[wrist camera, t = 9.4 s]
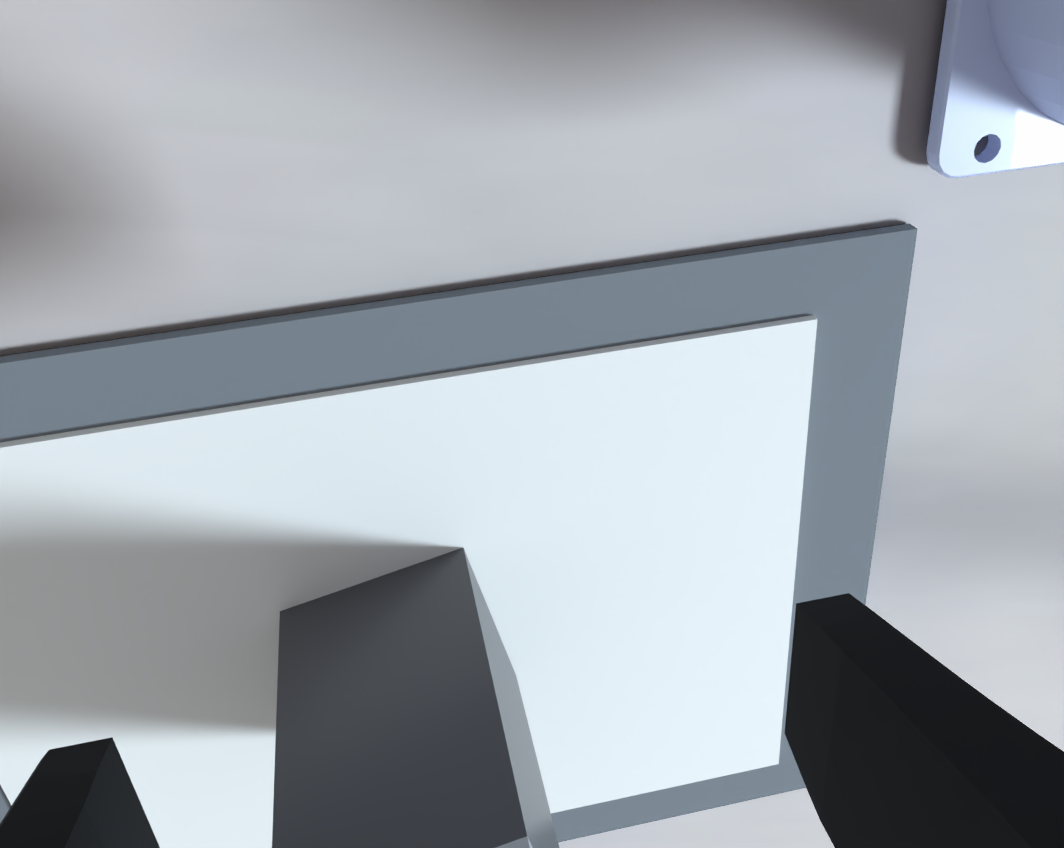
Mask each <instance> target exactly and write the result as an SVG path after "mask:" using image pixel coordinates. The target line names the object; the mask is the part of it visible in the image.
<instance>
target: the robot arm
mask: <svg viewBox="0 0 1064 848" xmlns="http://www.w3.org/2000/svg"><path fill="white" fill-rule="evenodd" d="M986 135H988V143H987V146H986V148H985V149H984V150H983V151H982V152H981V153H980V154H979V155H977V156H974V149H975V146H976V144H977V142H978V141H979V140H980V139H981V138H982V137H983V136H986ZM927 161H928V163H929V165H930V167H931V168H932V169H933V170H935V171H936V172H938V173H940V174H942V175H944V176H945V177H947V178H961V177H968V176H975V175H983V174H990V173H997V172H1004V171H1011V170H1018V169H1025V168H1032V167H1039V166H1047V165H1054V164H1061V163H1064V0H947V6H946V13H945V20H944V28H943V35H942V42H941V49H940V57H939V64H938V71H937V78H936V86H935V93H934V100H933V107H932V115H931V122H930V129H929V137H928V144H927ZM785 736H786V738H787V741H788V743H789V746H790V748H791V751H792V753H793V756H794V758H795V761H796V763H797V766H798V768H799V771H800V773H801V776H802V778H803V781H804V783H805V785H806V788H807V790H808V793H809V795H810V797H811V800H812V802H813V804H814V807H815V809H816V811H817V814H818V816H819V818H820V821H821V822H822V824H823V826H824V828H825V830H826V832H827V834H828V835H829V837H830V839H831V841H832V843H833V845H834V847H835V848H1064V752H1063V751H1062V750H1060V749H1059V748H1057V747H1056V746H1055V745H1053V744H1052V743H1050V742H1049V741H1047V740H1046V739H1044V738H1043V737H1041V736H1040V735H1038V734H1037V733H1036V732H1034V731H1033V730H1031V729H1030V728H1029V727H1027V726H1026V725H1024V724H1023V723H1022V722H1020V721H1019V720H1017V719H1016V718H1015V717H1013V716H1012V715H1011V714H1009V713H1008V712H1006V711H1005V710H1004V709H1002V708H1001V707H999V706H998V705H997V704H995V703H994V702H992V701H991V700H990V699H988V698H987V697H985V696H984V695H983V694H981V693H980V692H979V691H977V690H976V689H975V688H973V687H972V686H971V685H969V684H968V683H967V682H965V681H964V680H962V679H961V678H960V677H958V676H957V675H956V674H955V673H953V672H952V671H951V670H949V669H948V668H947V667H945V666H944V665H943V664H941V663H940V662H939V661H937V660H936V659H935V658H933V657H932V656H931V655H929V654H928V653H927V652H925V651H924V650H923V649H922V648H920V647H919V646H918V645H916V644H915V643H914V642H912V641H911V640H910V639H908V638H907V637H906V636H905V635H903V634H902V633H901V632H899V631H898V630H897V629H895V628H894V627H893V626H891V625H890V624H889V623H888V622H886V621H885V620H884V619H882V618H881V617H880V616H878V615H877V614H876V613H875V612H873V611H872V610H871V609H869V608H868V607H867V606H865V605H864V604H863V603H861V602H860V601H859V600H857V599H856V598H855V597H853V596H852V595H851V594H849V593H847V594H842V595H837V596H831V597H826V598H821V599H816V600H811V601H806V602H801V603H796V610H795V622H794V633H793V644H792V655H791V666H790V677H789V688H788V699H787V711H786V722H785ZM0 848H160V847H159V844H158V842H157V840H156V837H155V835H154V833H153V830H152V828H151V826H150V823H149V821H148V819H147V816H146V814H145V812H144V810H143V807H142V805H141V803H140V800H139V798H138V796H137V793H136V791H135V789H134V786H133V784H132V782H131V779H130V777H129V775H128V772H127V770H126V768H125V765H124V763H123V761H122V758H121V756H120V754H119V751H118V749H117V747H116V745H115V742H114V740H113V738H112V737H111V738H106V739H101V740H96V741H91V742H86V743H81V744H76V745H70V746H65V747H60V748H55V749H50V750H48V752H47V753H46V754H45V755H44V757H43V758H42V759H41V760H40V762H39V764H38V765H37V767H36V768H35V770H34V771H33V773H32V774H31V776H30V777H29V779H28V781H27V782H26V784H25V785H24V787H23V788H22V790H21V792H20V793H19V795H18V796H17V798H16V799H15V801H14V803H13V804H12V806H11V807H10V809H9V810H8V812H7V814H6V815H5V817H4V818H3V820H2V821H1V823H0Z"/></svg>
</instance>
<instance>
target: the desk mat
mask: <svg viewBox="0 0 1064 848" xmlns="http://www.w3.org/2000/svg"><path fill="white" fill-rule="evenodd" d="M916 234H917V228H915V227H914V226H912V225H911V224H903V225H896V226H889V227H882V228H876V229H869V230H862V231H855V232H848V233H841V234H835V235H828V236H821V237H814V238H807V239H800V240H793V241H787V242H780V243H773V244H766V245H759V246H752V247H746V248H739V249H732V250H725V251H718V252H711V253H704V254H698V255H691V256H684V257H677V258H670V259H663V260H657V261H650V262H643V263H636V264H629V265H622V266H615V267H609V268H602V269H595V270H588V271H581V272H574V273H568V274H561V275H554V276H547V277H540V278H533V279H526V280H520V281H513V282H506V283H499V284H492V285H485V286H479V287H472V288H465V289H458V290H451V291H444V292H438V293H431V294H424V295H417V296H410V297H403V298H396V299H390V300H383V301H376V302H369V303H362V304H355V305H349V306H342V307H335V308H328V309H321V310H314V311H307V312H301V313H294V314H287V315H280V316H273V317H266V318H260V319H253V320H246V321H239V322H232V323H225V324H218V325H212V326H205V327H198V328H191V329H184V330H177V331H171V332H164V333H157V334H150V335H143V336H136V337H129V338H123V339H116V340H109V341H102V342H95V343H88V344H82V345H75V346H68V347H61V348H54V349H47V350H41V351H34V352H27V353H20V354H13V355H6V356H0V823H1V821H2V820H3V818H4V817H5V815H6V814H7V812H8V810H9V809H10V807H11V806H12V804H13V803H14V801H15V799H16V798H17V796H18V795H19V793H20V792H21V790H22V788H23V787H24V785H25V784H26V782H27V781H28V779H29V777H30V776H31V774H32V773H33V771H34V770H35V768H36V767H37V765H38V764H39V762H40V760H41V759H42V758H43V757H44V755H45V754H46V753H47V752H48V750H50V749H55V748H60V747H65V746H70V745H76V744H81V743H86V742H91V741H96V740H101V739H106V738H111V737H112V738H113V740H114V742H115V745H116V747H117V749H118V751H119V754H120V756H121V758H122V761H123V763H124V765H125V768H126V770H127V772H128V775H129V777H130V779H131V782H132V784H133V786H134V789H135V791H136V793H137V796H138V798H139V800H140V803H141V805H142V807H143V810H144V812H145V814H146V816H147V819H148V821H149V823H150V826H151V828H152V830H153V833H154V835H155V837H156V840H157V842H158V844H159V847H160V848H272V831H273V801H274V771H275V741H276V711H277V681H278V650H279V620H280V611H282V610H285V609H288V608H291V607H294V606H297V605H299V604H302V603H305V602H308V601H311V600H314V599H317V598H320V597H322V596H325V595H328V594H331V593H334V592H337V591H340V590H343V589H345V588H348V587H351V586H354V585H357V584H360V583H363V582H366V581H368V580H371V579H374V578H377V577H380V576H383V575H386V574H388V573H391V572H394V571H397V570H400V569H403V568H406V567H409V566H411V565H414V564H417V563H420V562H423V561H426V560H429V559H432V558H434V557H437V556H440V555H443V554H446V553H449V552H452V551H455V550H457V549H460V548H464V550H465V553H466V555H467V557H468V560H469V562H470V565H471V567H472V570H473V572H474V574H475V577H476V579H477V582H478V584H479V587H480V589H481V591H482V594H483V596H484V599H485V601H486V604H487V606H488V608H489V611H490V613H491V616H492V618H493V621H494V623H495V625H496V628H497V630H498V633H499V635H500V638H501V640H502V642H503V645H504V647H505V650H506V652H507V655H508V657H509V659H510V662H511V664H512V667H513V669H514V672H515V674H516V677H517V681H518V685H519V689H520V693H521V697H522V701H523V705H524V709H525V713H526V717H527V721H528V725H529V729H530V733H531V737H532V741H533V745H534V749H535V753H536V757H537V761H538V765H539V769H540V773H541V777H542V781H543V785H544V789H545V793H546V797H547V801H548V805H549V809H550V813H551V817H552V821H553V825H554V829H555V833H556V837H557V841H558V842H562V841H567V840H571V839H576V838H580V837H585V836H589V835H594V834H598V833H603V832H607V831H612V830H616V829H621V828H625V827H630V826H634V825H639V824H643V823H648V822H652V821H657V820H661V819H666V818H671V817H675V816H680V815H684V814H689V813H693V812H698V811H702V810H707V809H711V808H716V807H720V806H725V805H729V804H734V803H738V802H743V801H747V800H752V799H756V798H761V797H765V796H770V795H774V794H779V793H784V792H788V791H793V790H797V789H802V788H806V785H805V783H804V781H803V778H802V776H801V773H800V771H799V768H798V766H797V763H796V761H795V758H794V756H793V753H792V751H791V748H790V746H789V743H788V741H787V738H786V736H785V722H786V711H787V699H788V688H789V677H790V666H791V655H792V644H793V633H794V622H795V610H796V603H801V602H806V601H811V600H816V599H821V598H826V597H831V596H837V595H842V594H847V593H849V594H851V595H852V596H853V597H855V598H856V599H857V600H859V601H860V602H861V603H863V604H864V605H865V602H866V595H867V588H868V581H869V574H870V566H871V559H872V552H873V545H874V538H875V530H876V523H877V516H878V509H879V501H880V494H881V487H882V480H883V473H884V465H885V458H886V451H887V444H888V436H889V429H890V422H891V415H892V408H893V400H894V393H895V386H896V379H897V371H898V364H899V357H900V350H901V343H902V335H903V328H904V321H905V314H906V307H907V299H908V292H909V285H910V278H911V270H912V263H913V256H914V249H915V242H916Z"/></svg>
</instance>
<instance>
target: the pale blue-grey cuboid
mask: <svg viewBox="0 0 1064 848" xmlns="http://www.w3.org/2000/svg"><path fill="white" fill-rule="evenodd" d="M272 848H559V845H558V841H557V837H556V833H555V829H554V825H553V821H552V817H551V813H550V809H549V805H548V801H547V797H546V793H545V789H544V785H543V781H542V777H541V773H540V769H539V765H538V761H537V757H536V753H535V749H534V745H533V741H532V737H531V733H530V729H529V725H528V721H527V717H526V713H525V709H524V705H523V701H522V697H521V693H520V689H519V685H518V681H517V677H516V674H515V672H514V669H513V667H512V664H511V662H510V659H509V657H508V655H507V652H506V650H505V647H504V645H503V642H502V640H501V638H500V635H499V633H498V630H497V628H496V625H495V623H494V621H493V618H492V616H491V613H490V611H489V608H488V606H487V604H486V601H485V599H484V596H483V594H482V591H481V589H480V587H479V584H478V582H477V579H476V577H475V574H474V572H473V570H472V567H471V565H470V562H469V560H468V557H467V555H466V553H465V550H464V548H460V549H457V550H455V551H452V552H449V553H446V554H443V555H440V556H437V557H434V558H432V559H429V560H426V561H423V562H420V563H417V564H414V565H411V566H409V567H406V568H403V569H400V570H397V571H394V572H391V573H388V574H386V575H383V576H380V577H377V578H374V579H371V580H368V581H366V582H363V583H360V584H357V585H354V586H351V587H348V588H345V589H343V590H340V591H337V592H334V593H331V594H328V595H325V596H322V597H320V598H317V599H314V600H311V601H308V602H305V603H302V604H299V605H297V606H294V607H291V608H288V609H285V610H282V611H280V620H279V650H278V681H277V711H276V741H275V771H274V801H273V831H272Z"/></svg>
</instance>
